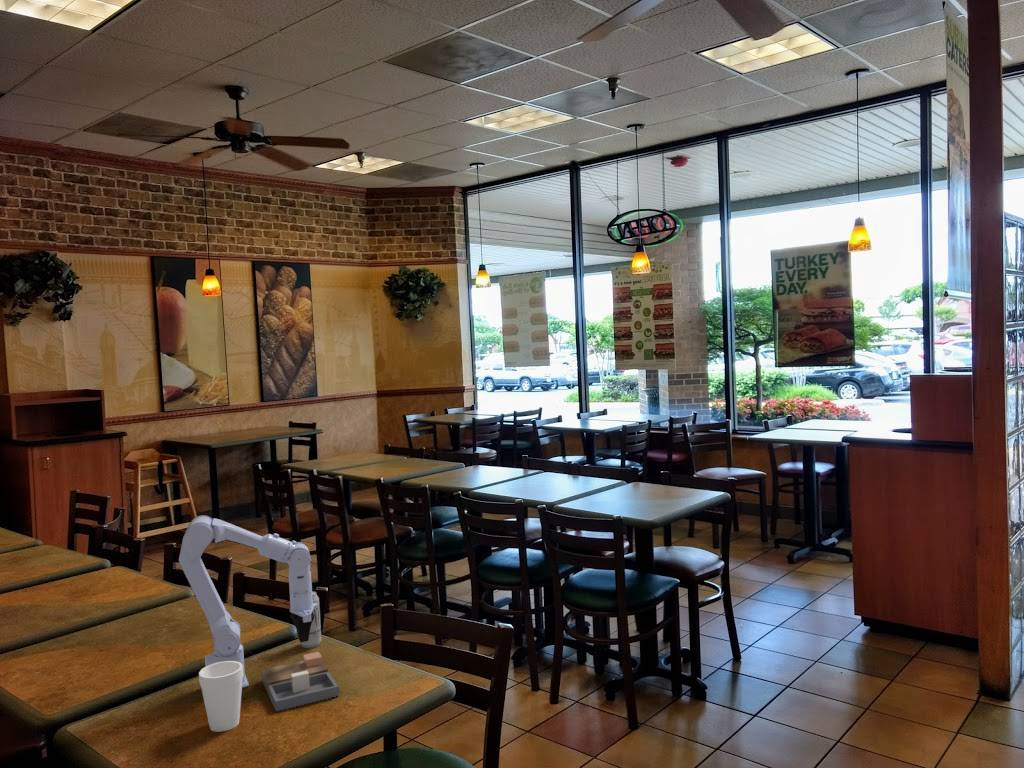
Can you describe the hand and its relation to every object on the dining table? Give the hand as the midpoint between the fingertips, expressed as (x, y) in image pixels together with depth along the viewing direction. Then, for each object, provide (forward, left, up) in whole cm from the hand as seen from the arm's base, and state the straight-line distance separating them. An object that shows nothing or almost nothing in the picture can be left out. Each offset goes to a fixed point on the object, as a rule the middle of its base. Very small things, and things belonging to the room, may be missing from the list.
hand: (303, 640), depth 203 cm
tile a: (-4, -10, -6) cm, 12 cm away
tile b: (+1, -3, -5) cm, 6 cm away
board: (-4, -4, -8) cm, 10 cm away
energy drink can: (+5, +19, -9) cm, 21 cm away
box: (-4, -14, -8) cm, 17 cm away
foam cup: (-23, -19, -9) cm, 31 cm away
